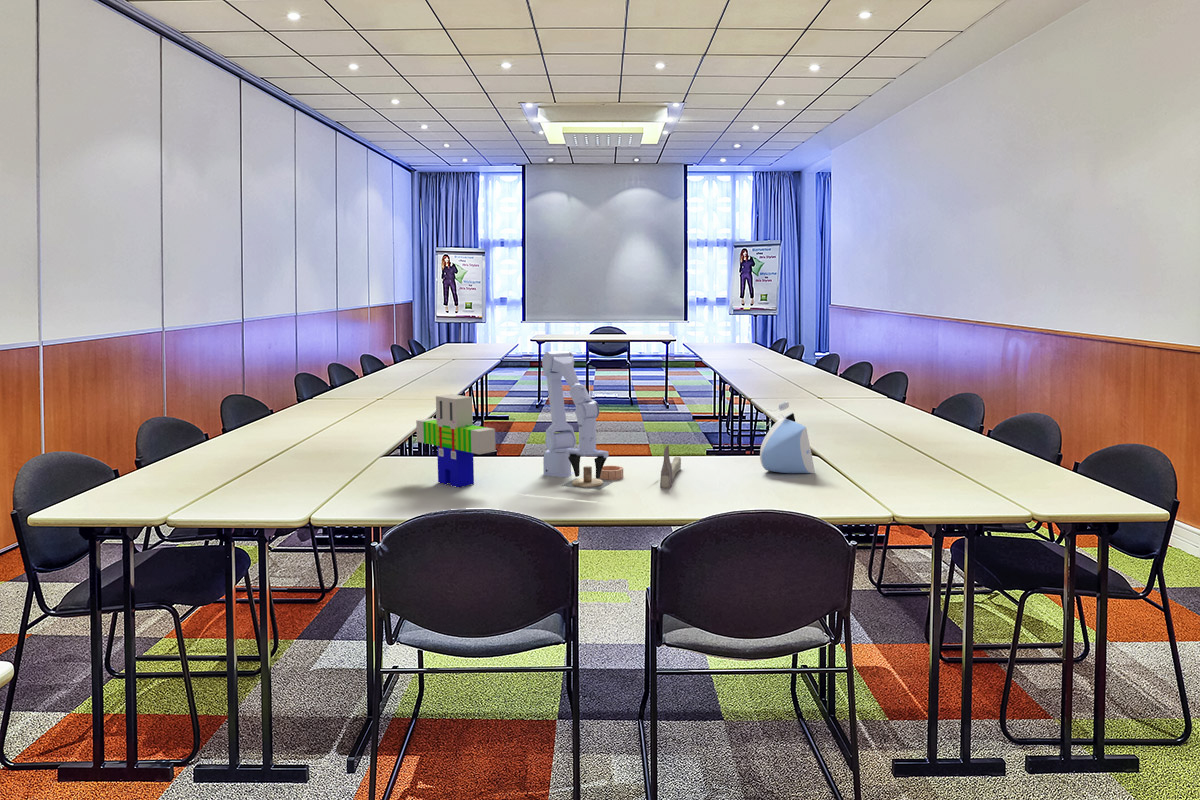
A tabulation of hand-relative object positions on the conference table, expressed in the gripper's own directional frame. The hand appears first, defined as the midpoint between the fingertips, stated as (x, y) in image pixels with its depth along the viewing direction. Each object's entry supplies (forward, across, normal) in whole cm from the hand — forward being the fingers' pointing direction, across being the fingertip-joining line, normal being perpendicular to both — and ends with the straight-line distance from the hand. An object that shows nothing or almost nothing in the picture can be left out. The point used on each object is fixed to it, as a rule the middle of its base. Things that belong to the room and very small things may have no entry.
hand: (587, 477), depth 304 cm
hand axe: (+3, +23, +21) cm, 31 cm away
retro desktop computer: (+3, +59, +50) cm, 77 cm away
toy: (+3, -43, -14) cm, 45 cm away
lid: (+2, 0, 0) cm, 2 cm away
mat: (+3, 0, 0) cm, 3 cm away
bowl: (+3, +3, +13) cm, 14 cm away
